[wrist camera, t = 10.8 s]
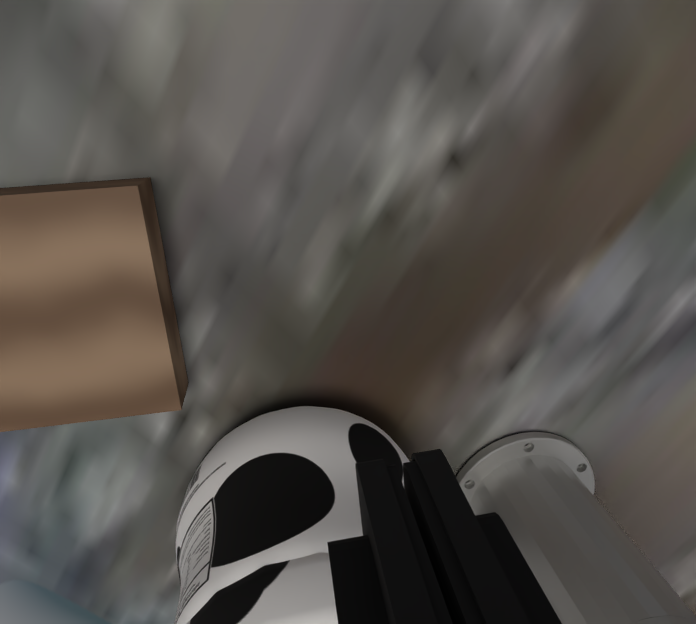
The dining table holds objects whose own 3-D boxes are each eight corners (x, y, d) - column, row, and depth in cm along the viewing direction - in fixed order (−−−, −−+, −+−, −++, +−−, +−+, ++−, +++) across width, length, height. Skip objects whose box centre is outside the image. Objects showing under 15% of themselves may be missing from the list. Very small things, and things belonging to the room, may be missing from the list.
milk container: (424, 536, 45) (517, 785, 29) (225, 593, 44) (202, 885, 28) (388, 360, 39) (482, 552, 22) (153, 422, 38) (67, 671, 21)
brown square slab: (188, 383, 37) (181, 409, 34) (-28, 408, 35) (-57, 438, 32) (150, 177, 32) (137, 185, 29) (-105, 195, 30) (-149, 206, 27)
